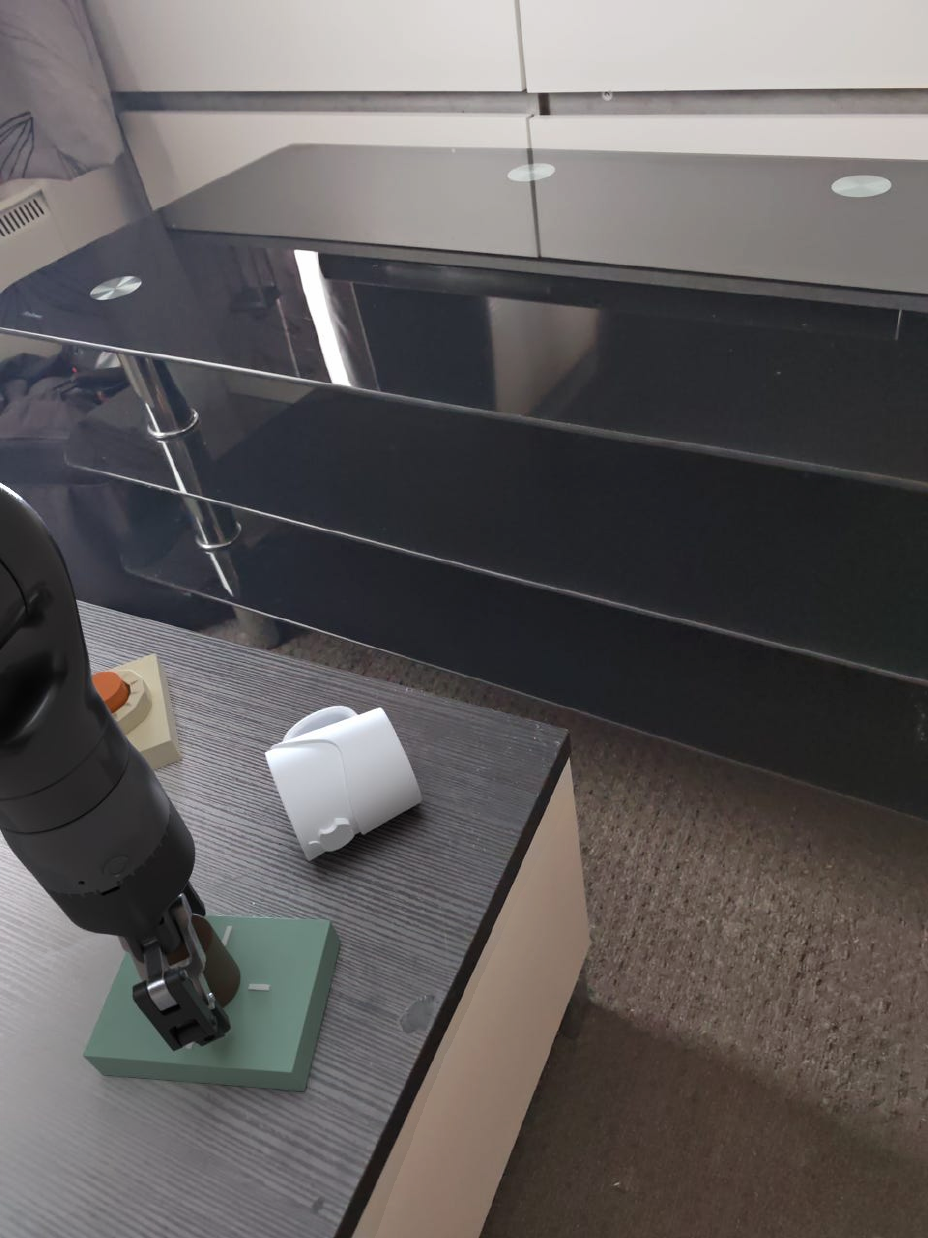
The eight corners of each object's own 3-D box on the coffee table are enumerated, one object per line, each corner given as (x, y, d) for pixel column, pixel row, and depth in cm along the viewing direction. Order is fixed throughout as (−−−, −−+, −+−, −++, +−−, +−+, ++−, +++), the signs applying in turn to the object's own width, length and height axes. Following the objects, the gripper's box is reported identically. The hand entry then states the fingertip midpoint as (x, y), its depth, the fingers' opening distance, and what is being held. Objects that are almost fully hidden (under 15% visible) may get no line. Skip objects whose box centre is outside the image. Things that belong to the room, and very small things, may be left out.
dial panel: (101, 1075, 60) (80, 1055, 58) (158, 932, 67) (141, 910, 65) (304, 1092, 57) (290, 1071, 55) (341, 941, 64) (330, 918, 62)
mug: (433, 829, 70) (413, 763, 64) (318, 883, 68) (288, 820, 63) (379, 727, 78) (358, 661, 73) (276, 772, 76) (246, 708, 71)
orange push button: (130, 708, 79) (122, 694, 78) (84, 725, 78) (75, 711, 77) (127, 678, 82) (119, 665, 81) (82, 694, 81) (73, 681, 80)
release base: (182, 760, 79) (162, 725, 76) (78, 799, 78) (54, 766, 75) (166, 672, 88) (148, 638, 85) (72, 706, 86) (51, 673, 83)
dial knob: (247, 995, 59) (218, 951, 55) (188, 1027, 58) (153, 984, 54) (231, 945, 62) (202, 900, 58) (174, 974, 61) (140, 930, 57)
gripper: (21, 761, 53) (132, 908, 63) (31, 974, 42) (161, 1106, 53) (149, 711, 54) (236, 863, 65) (189, 906, 44) (284, 1048, 55)
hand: (202, 973), depth 59 cm, fingers open, 8 cm apart
